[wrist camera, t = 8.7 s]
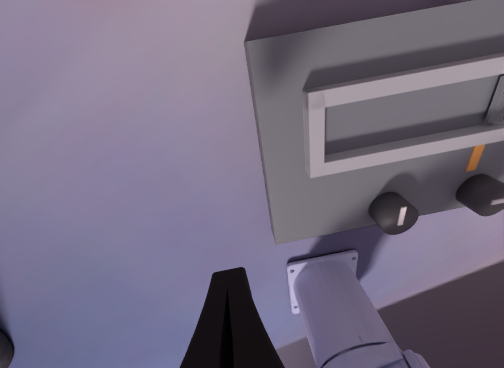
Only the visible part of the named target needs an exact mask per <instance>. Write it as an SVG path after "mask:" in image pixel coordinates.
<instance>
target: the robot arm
mask: <svg viewBox="0 0 504 368" xmlns="http://www.w3.org/2000/svg"><path fill="white" fill-rule="evenodd" d="M357 261H358V252H357V251H356V250H350V251H345V252H340V253H335V254H330V255H326V256H321V257H316V258H311V259H306V260H301V261H296V262H291V263H288V264H287V275H288V284H289V292H290V301H291V310H292V313H294V314H297V313H300V314H301V317H302V321H303V324H304V327H305V331H306V334H307V337H308V341H309V344H310V347H311V351H312V354H313V357H314V360H315V364H316V367H317V368H430V367H429V366H428V364H427V363H426V361H425V360H424V358H423V357H422V356H420V355H419V354H416V353H413V352H412V351H411V350H407V351H404V353H403V352H402V351H401V350H400V349H399V347H398V346H397V345H396V343H395V341H394V340H393V338H392V336H391V335H390V333H389V332H388V330H387V328H386V326H385V324H384V323H383V321H382V320H381V318H380V316H379V314H378V313H377V311H376V309H375V308H374V306H373V304H372V303H371V301H370V299H369V298H368V296H367V294H366V292H365V291H364V289H363V287H362V286H361V284H360V282H359V281H358V279H357V277H356V269H357ZM180 368H285V367H284V365H283V363H282V362H281V360H280V358H279V356H278V354H277V352H276V350H275V348H274V346H273V344H272V342H271V340H270V338H269V336H268V334H267V332H266V330H265V328H264V326H263V323H262V321H261V319H260V316H259V314H258V312H257V309H256V307H255V304H254V302H253V299H252V294H251V290H250V286H249V282H248V279H247V275H246V271H245V268H243V267H239V268H234V269H229V270H224V271H219V272H214V273H213V275H212V278H211V282H210V286H209V290H208V293H207V297H206V300H205V303H204V306H203V309H202V312H201V315H200V318H199V321H198V324H197V326H196V329H195V332H194V334H193V337H192V339H191V342H190V344H189V347H188V349H187V352H186V354H185V357H184V359H183V361H182V364H181V366H180Z"/></svg>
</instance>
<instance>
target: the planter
mask: <svg viewBox="0 0 504 368" xmlns="http://www.w3.org/2000/svg"><path fill="white" fill-rule="evenodd" d="M12 357H13V351H12V347H11V345H10V343H9V341H8V339H7V338H6V337H5V335H4V334H3V333H2V332H1V331H0V368H8V367H9V365H10V363H11V361H12Z"/></svg>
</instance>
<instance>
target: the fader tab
mask: <svg viewBox="0 0 504 368" xmlns="http://www.w3.org/2000/svg"><path fill="white" fill-rule="evenodd" d="M485 121H486V122H490V123H494V124H497V125H501V126H504V76H501V78H500V81H499V83H498V86H497V89H496V91H495V94H494V97H493V100H492V102H491V105H490V108H489V110H488V113H487V116H486V118H485Z"/></svg>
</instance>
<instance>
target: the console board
mask: <svg viewBox="0 0 504 368" xmlns="http://www.w3.org/2000/svg"><path fill="white" fill-rule="evenodd" d="M244 45H245V52H246V59H247V65H248V72H249V79H250V86H251V93H252V99H253V106H254V113H255V120H256V126H257V133H258V140H259V147H260V153H261V160H262V167H263V174H264V181H265V187H266V194H267V201H268V208H269V214H270V221H271V228H272V232H273V236H274V240H275V243H276V245H277V244H282V243H286V242H291V241H296V240H301V239H306V238H311V237H316V236H321V235H326V234H331V233H336V232H341V231H346V230H351V229H356V228H361V227H366V226H371V225H376V224H378V225H379V227H380V228H381V229H382V230H383V231H384V232H385V233H387V234H390V235H396V234H400V233H403V232H405V231H407V230H408V229H410V228H411V227H412V226H413V225H414V224H415V223H416V221H417V219H418V216H421V215H426V214H431V213H436V212H441V211H446V210H451V209H456V208H461V207H468V208H469V209H471V210H473V211H474V212H476V213H477V214H479V215H481V216H490V215H493V214H496V213H498V212H499V211H501V210H503V209H504V126H501V125H497V124H494V123H490V122H486V121H485V118H486V116H487V113H488V110H489V108H490V105H491V102H492V100H493V97H494V94H495V91H496V89H497V86H498V83H499V81H500V78H501V76H504V0H472V1H466V2H461V3H455V4H450V5H444V6H439V7H433V8H428V9H422V10H417V11H411V12H406V13H400V14H395V15H389V16H384V17H378V18H373V19H367V20H362V21H356V22H351V23H345V24H340V25H334V26H329V27H323V28H318V29H312V30H307V31H301V32H296V33H290V34H285V35H279V36H274V37H268V38H263V39H257V40H252V41H247V42H244Z"/></svg>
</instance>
